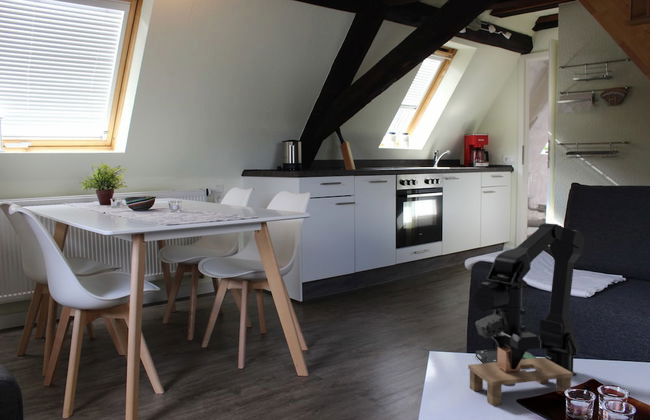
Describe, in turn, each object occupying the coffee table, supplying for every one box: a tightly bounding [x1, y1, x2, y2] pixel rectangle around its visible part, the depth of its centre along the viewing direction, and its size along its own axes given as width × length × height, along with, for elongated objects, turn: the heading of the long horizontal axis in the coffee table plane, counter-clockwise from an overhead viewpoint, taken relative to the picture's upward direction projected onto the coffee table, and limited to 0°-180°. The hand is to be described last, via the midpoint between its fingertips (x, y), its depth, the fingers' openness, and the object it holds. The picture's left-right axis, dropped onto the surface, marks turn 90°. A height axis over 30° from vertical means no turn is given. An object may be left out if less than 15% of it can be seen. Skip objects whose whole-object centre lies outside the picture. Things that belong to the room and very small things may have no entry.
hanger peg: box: [497, 346, 521, 387], centre depth 147 cm, size 4×4×9 cm
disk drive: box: [475, 348, 537, 364], centre depth 170 cm, size 10×3×15 cm
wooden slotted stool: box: [467, 357, 574, 406], centre depth 148 cm, size 22×12×6 cm, turn 103°
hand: (508, 366), depth 147 cm, fingers closed on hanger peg, 4 cm apart
